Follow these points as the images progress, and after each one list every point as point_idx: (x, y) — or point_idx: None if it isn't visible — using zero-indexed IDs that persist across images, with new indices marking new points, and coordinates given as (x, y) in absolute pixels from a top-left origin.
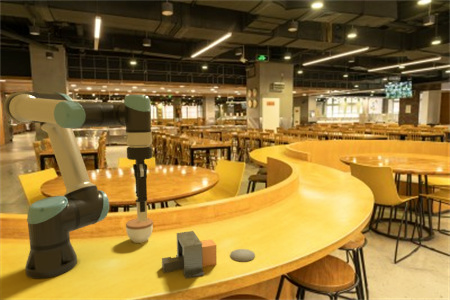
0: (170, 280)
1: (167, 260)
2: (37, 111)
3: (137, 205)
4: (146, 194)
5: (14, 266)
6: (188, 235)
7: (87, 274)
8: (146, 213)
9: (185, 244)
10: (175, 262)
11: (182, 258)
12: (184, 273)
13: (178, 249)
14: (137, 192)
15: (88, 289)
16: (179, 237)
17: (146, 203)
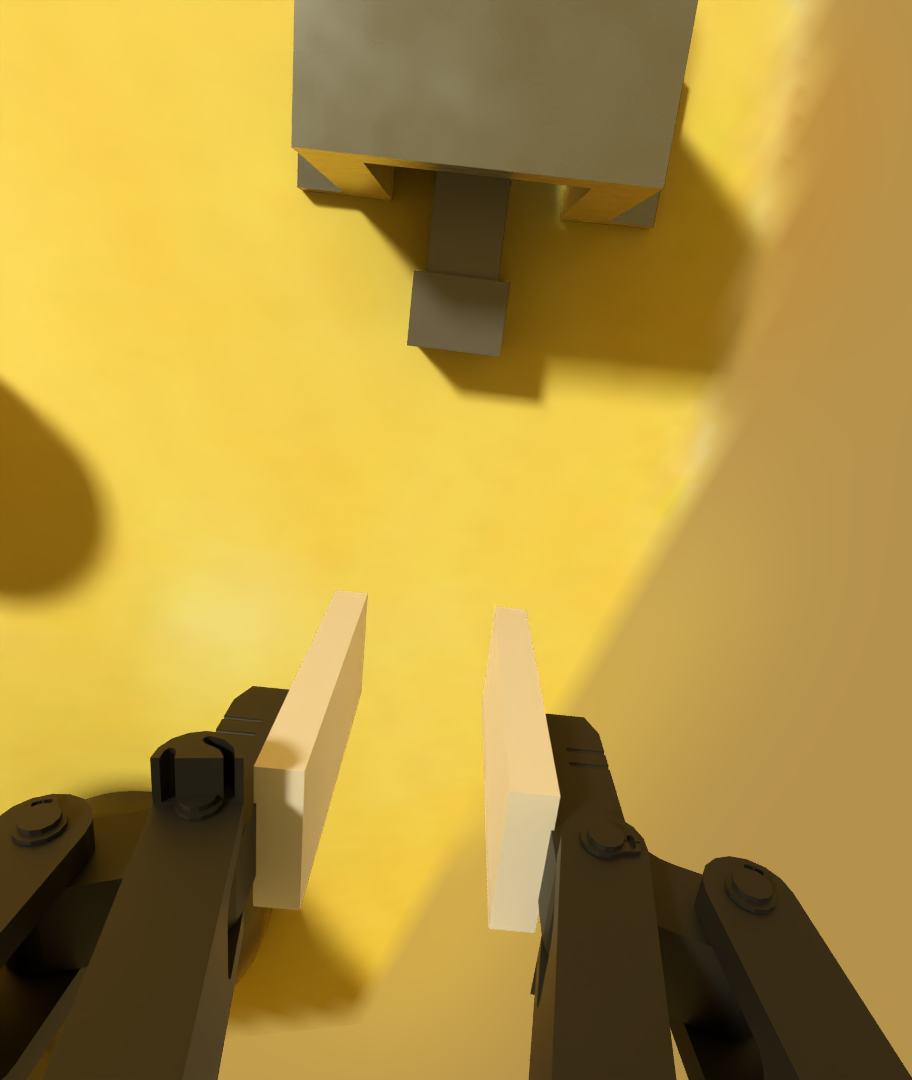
0: (610, 336)
1: (463, 313)
2: None
3: (328, 801)
4: (866, 1016)
5: None
6: (413, 25)
7: None
8: (534, 667)
9: (624, 152)
10: (500, 256)
11: (478, 181)
12: (609, 222)
13: (379, 178)
14: (227, 999)
15: (470, 750)
16: (421, 154)
17: (551, 761)
